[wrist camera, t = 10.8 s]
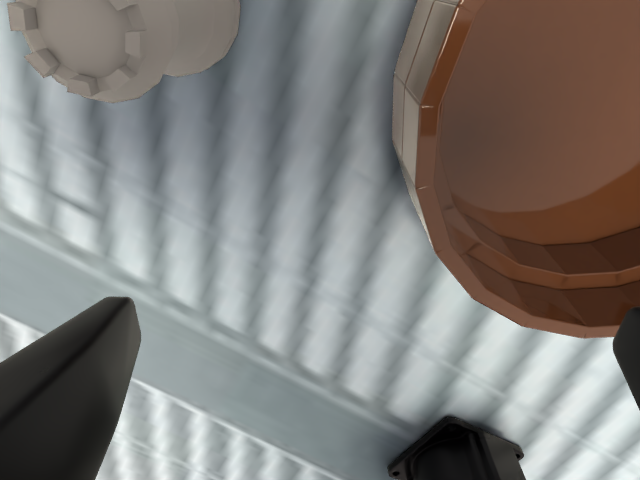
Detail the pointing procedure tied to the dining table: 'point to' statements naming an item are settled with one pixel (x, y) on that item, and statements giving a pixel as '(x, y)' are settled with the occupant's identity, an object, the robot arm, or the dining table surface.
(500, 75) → the bowl
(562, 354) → the dining table surface
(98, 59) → the rook chess piece
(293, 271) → the dining table surface
